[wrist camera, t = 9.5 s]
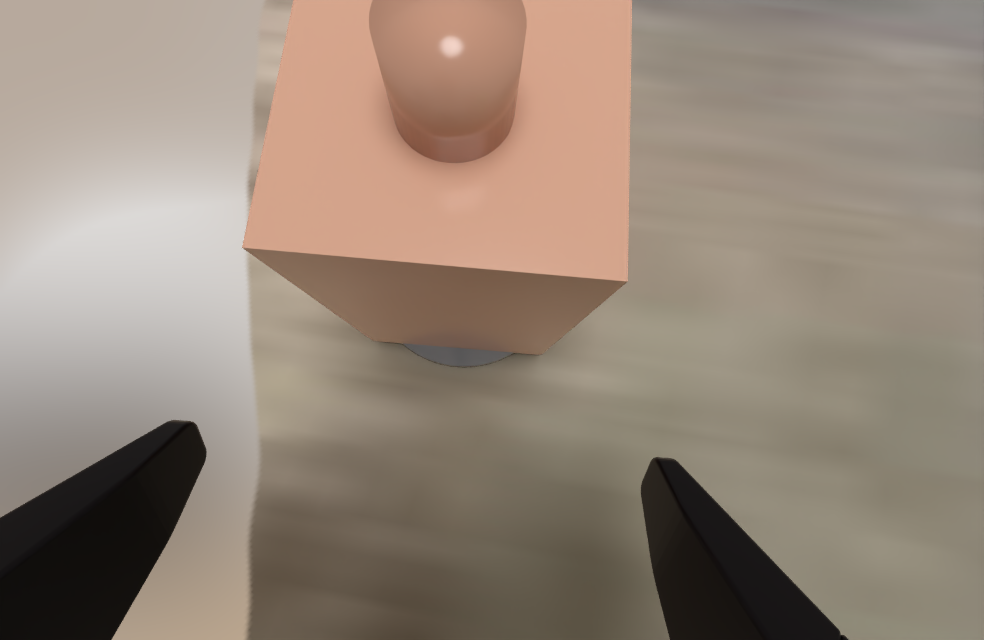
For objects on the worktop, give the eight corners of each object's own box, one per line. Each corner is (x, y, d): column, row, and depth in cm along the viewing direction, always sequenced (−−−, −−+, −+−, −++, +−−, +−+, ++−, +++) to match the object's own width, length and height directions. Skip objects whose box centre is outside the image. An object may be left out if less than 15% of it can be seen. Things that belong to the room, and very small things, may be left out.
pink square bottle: (541, 354, 18) (676, 240, 6) (373, 340, 18) (166, 193, 6) (549, 211, 20) (673, -120, 7) (392, 196, 20) (257, -166, 7)
